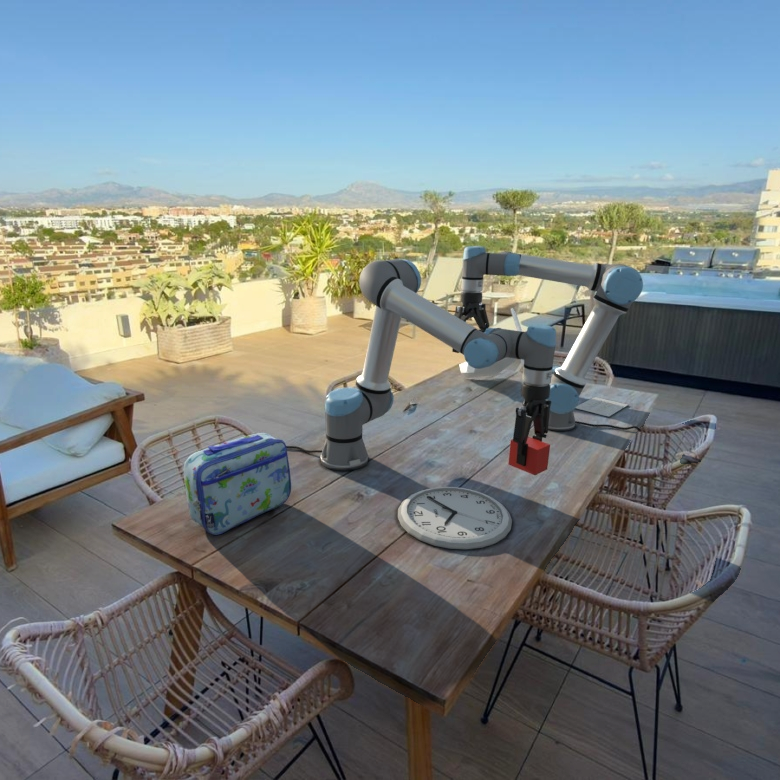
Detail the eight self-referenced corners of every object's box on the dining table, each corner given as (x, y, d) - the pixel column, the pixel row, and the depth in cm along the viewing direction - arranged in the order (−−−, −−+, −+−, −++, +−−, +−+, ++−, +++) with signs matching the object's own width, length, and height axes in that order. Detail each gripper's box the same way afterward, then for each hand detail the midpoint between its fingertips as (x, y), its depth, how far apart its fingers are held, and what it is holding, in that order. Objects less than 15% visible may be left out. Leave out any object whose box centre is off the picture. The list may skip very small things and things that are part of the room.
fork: (400, 412, 215) (400, 407, 215) (412, 400, 229) (412, 396, 229) (406, 412, 214) (406, 408, 214) (418, 401, 229) (418, 397, 228)
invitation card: (608, 416, 214) (573, 407, 224) (608, 416, 214) (573, 408, 224) (628, 404, 229) (594, 396, 238) (628, 405, 229) (594, 397, 238)
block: (508, 464, 150) (510, 439, 148) (520, 458, 154) (523, 434, 152) (535, 475, 144) (537, 449, 141) (547, 469, 147) (550, 444, 145)
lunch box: (204, 544, 124) (196, 463, 118) (184, 526, 131) (176, 449, 125) (295, 506, 142) (292, 434, 136) (274, 491, 149) (270, 423, 143)
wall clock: (528, 541, 125) (404, 545, 122) (528, 547, 125) (404, 551, 123) (494, 482, 153) (392, 485, 151) (494, 487, 154) (392, 490, 151)
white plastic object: (480, 420, 263) (459, 397, 239) (461, 347, 286) (440, 319, 261) (551, 396, 251) (537, 369, 226) (526, 322, 273) (511, 290, 249)
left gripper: (527, 392, 133) (519, 475, 140) (567, 380, 145) (558, 456, 152) (503, 386, 138) (496, 465, 145) (544, 374, 150) (536, 448, 157)
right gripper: (456, 295, 175) (452, 356, 182) (501, 290, 191) (497, 346, 198) (440, 292, 181) (437, 352, 187) (485, 288, 197) (481, 343, 203)
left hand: (528, 460), depth 148 cm, fingers closed on block, 6 cm apart
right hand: (468, 349), depth 192 cm, fingers open, 13 cm apart
